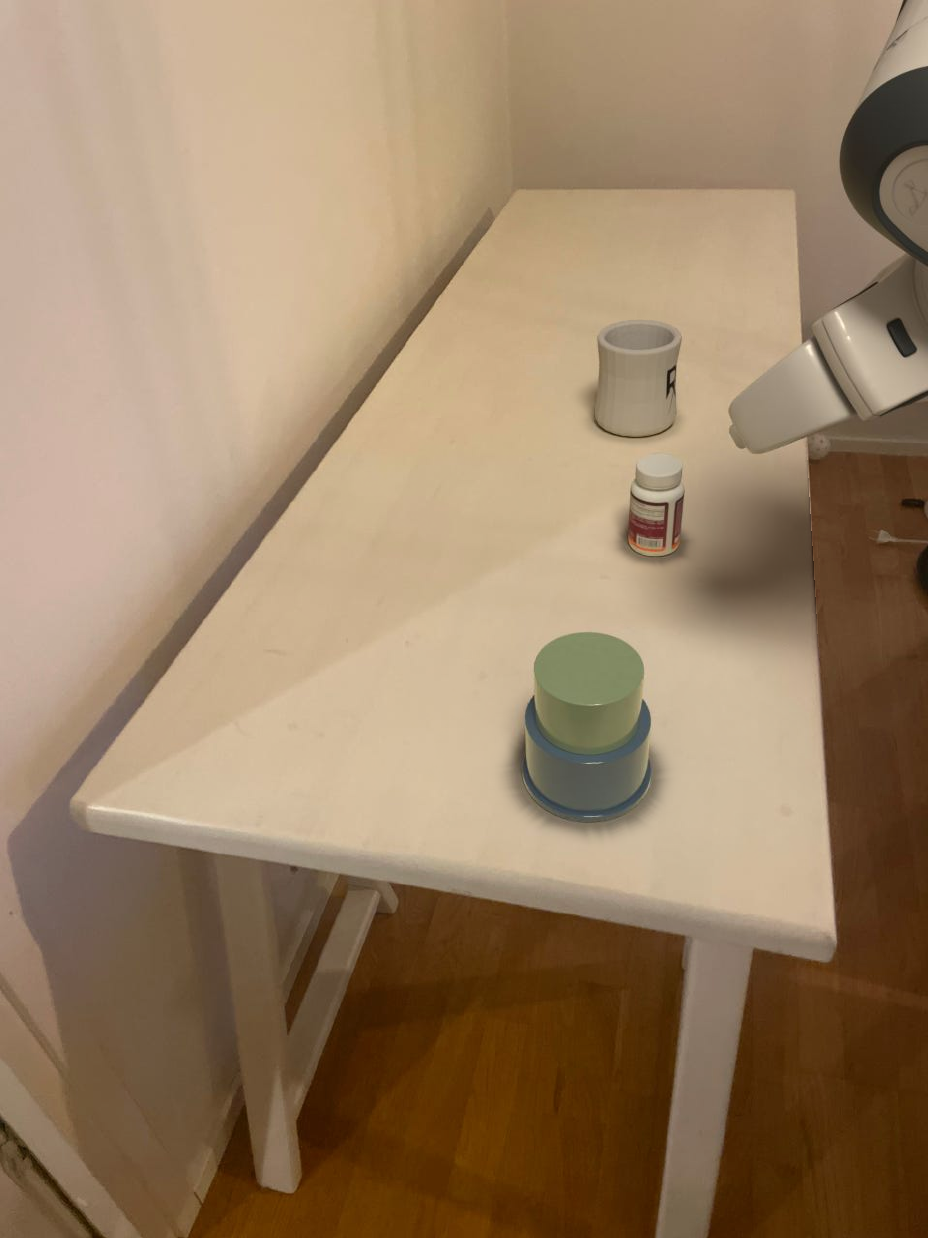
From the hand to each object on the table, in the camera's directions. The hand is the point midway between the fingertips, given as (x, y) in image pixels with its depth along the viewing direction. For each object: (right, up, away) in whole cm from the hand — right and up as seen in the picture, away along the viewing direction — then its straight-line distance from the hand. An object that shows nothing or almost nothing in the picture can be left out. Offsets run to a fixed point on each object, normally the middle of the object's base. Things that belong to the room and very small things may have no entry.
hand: (783, 413), depth 67 cm
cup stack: (-14, -26, -1) cm, 29 cm away
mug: (-3, +9, +40) cm, 41 cm away
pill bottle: (-5, -8, +20) cm, 22 cm away
